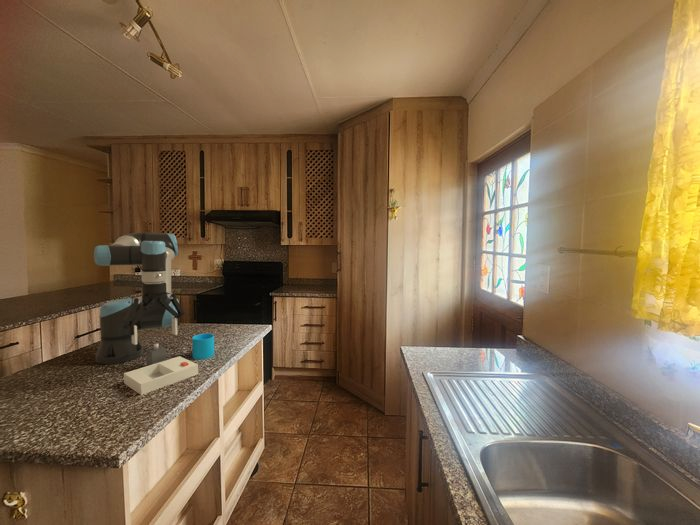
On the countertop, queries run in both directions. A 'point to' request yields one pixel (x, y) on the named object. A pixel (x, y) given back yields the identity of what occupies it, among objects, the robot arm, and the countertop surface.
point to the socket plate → (160, 374)
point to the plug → (155, 355)
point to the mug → (203, 346)
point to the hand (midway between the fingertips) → (155, 338)
